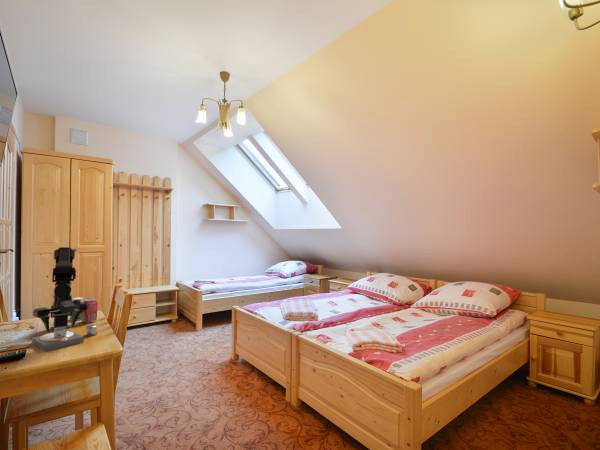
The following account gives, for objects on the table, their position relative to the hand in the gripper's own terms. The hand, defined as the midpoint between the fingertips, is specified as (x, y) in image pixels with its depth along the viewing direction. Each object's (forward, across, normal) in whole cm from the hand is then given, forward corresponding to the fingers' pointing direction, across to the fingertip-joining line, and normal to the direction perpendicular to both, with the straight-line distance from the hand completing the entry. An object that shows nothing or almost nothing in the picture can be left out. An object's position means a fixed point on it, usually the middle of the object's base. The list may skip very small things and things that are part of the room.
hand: (60, 328), depth 137 cm
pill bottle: (+7, +21, +37) cm, 43 cm away
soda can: (+7, +23, +27) cm, 36 cm away
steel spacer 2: (+6, +14, +3) cm, 16 cm away
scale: (+7, 0, +2) cm, 7 cm away
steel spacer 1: (+4, 0, 0) cm, 4 cm away
